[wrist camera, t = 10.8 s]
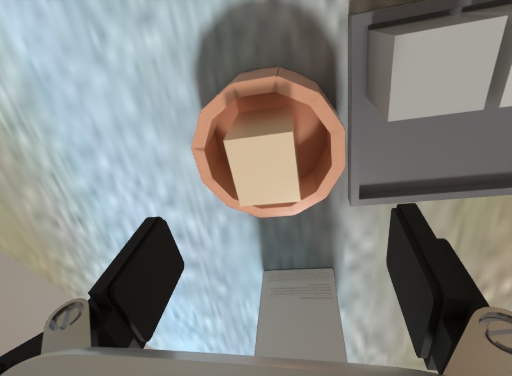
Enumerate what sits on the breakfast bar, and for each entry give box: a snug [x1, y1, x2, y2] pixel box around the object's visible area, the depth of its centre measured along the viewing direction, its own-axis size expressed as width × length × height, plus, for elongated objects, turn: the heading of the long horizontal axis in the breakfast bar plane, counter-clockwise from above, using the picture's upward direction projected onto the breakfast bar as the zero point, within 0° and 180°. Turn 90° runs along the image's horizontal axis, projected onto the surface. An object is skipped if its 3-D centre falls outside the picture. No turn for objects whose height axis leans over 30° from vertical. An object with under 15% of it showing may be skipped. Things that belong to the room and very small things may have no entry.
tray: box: [348, 0, 512, 206], centre depth 17 cm, size 15×13×1 cm
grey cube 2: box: [365, 15, 508, 122], centre depth 14 cm, size 4×4×5 cm
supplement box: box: [254, 268, 347, 363], centre depth 24 cm, size 7×7×13 cm
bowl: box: [191, 67, 345, 218], centre depth 19 cm, size 10×10×4 cm
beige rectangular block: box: [223, 105, 301, 206], centre depth 18 cm, size 4×4×5 cm
